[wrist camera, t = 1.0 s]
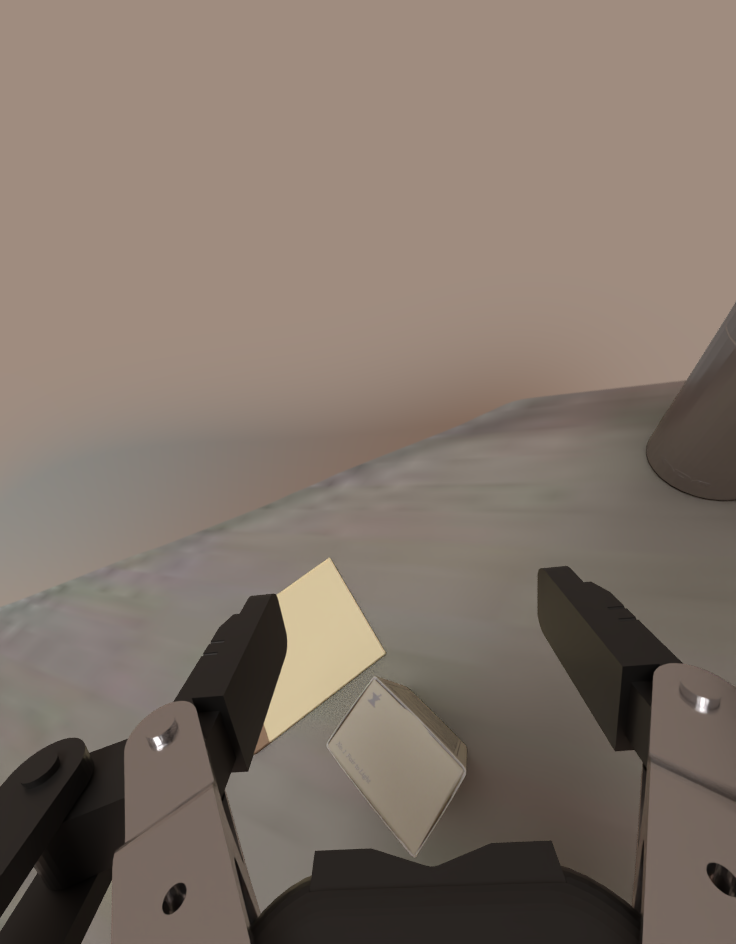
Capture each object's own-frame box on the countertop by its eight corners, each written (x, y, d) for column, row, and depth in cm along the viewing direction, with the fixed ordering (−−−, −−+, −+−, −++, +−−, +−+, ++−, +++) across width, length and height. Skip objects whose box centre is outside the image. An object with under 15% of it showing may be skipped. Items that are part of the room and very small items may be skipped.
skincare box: (373, 731, 28) (318, 743, 19) (407, 683, 29) (372, 670, 20) (438, 805, 25) (411, 867, 15) (473, 747, 26) (469, 770, 16)
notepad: (330, 558, 38) (329, 557, 37) (386, 653, 31) (385, 652, 31) (221, 636, 36) (218, 635, 36) (255, 754, 29) (252, 754, 29)
